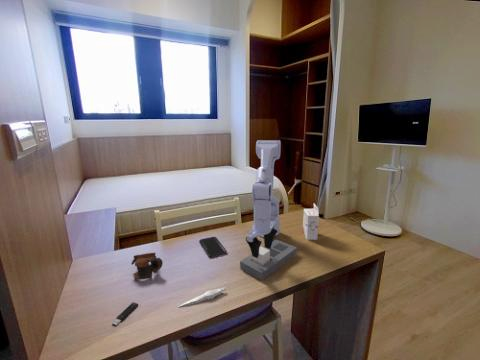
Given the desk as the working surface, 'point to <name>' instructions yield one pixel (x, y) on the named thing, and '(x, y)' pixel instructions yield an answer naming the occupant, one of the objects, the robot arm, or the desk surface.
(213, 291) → the white tapered rod
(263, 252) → the plug
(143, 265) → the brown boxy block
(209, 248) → the phone
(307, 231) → the ink cartridge box
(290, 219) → the desk surface
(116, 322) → the usb flash drive
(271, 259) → the power strip
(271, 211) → the robot arm
